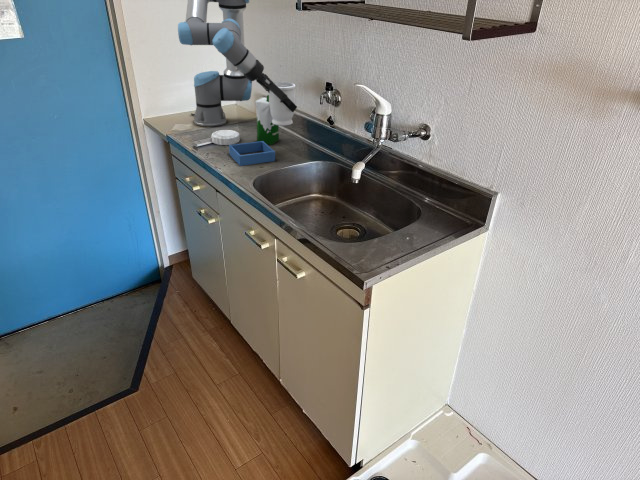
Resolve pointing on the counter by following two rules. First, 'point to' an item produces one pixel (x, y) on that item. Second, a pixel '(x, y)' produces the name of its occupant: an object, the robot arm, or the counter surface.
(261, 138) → the milk carton
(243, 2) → the robot arm
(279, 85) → the jar
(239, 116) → the counter surface
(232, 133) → the mooncake
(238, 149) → the blue crate
